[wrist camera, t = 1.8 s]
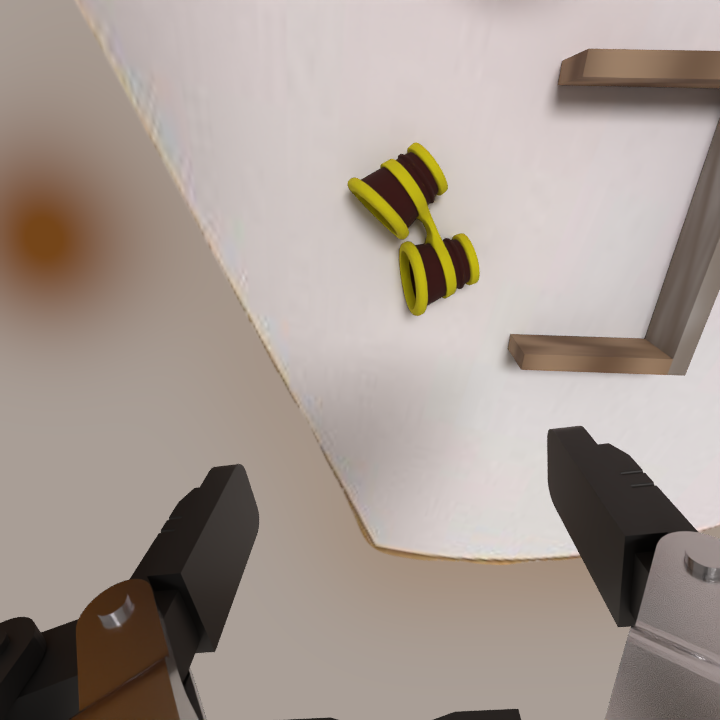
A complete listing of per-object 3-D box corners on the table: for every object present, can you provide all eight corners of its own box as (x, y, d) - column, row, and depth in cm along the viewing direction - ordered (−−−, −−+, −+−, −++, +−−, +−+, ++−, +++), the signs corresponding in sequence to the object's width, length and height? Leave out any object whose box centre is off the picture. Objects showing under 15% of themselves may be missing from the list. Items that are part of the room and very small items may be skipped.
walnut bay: (507, 348, 33) (521, 369, 30) (562, 60, 25) (588, 48, 22) (655, 353, 33) (684, 375, 30) (759, 64, 25) (814, 52, 22)
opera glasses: (467, 272, 32) (497, 285, 27) (404, 307, 32) (422, 326, 28) (412, 141, 28) (435, 131, 24) (341, 182, 29) (350, 180, 24)
